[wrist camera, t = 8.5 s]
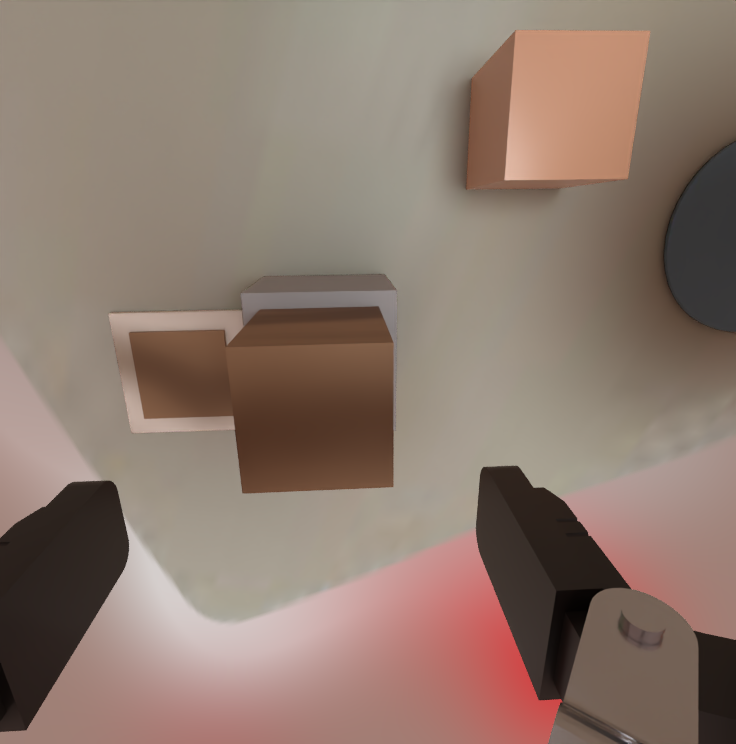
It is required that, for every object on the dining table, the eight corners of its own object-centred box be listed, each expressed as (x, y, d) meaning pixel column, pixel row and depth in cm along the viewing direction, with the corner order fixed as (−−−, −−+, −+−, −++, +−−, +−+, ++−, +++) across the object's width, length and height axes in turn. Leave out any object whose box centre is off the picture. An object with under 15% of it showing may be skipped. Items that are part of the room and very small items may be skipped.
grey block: (264, 276, 25) (240, 293, 19) (384, 274, 25) (396, 290, 19) (273, 389, 27) (254, 435, 21) (384, 386, 27) (395, 430, 21)
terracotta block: (471, 78, 22) (515, 30, 17) (572, 78, 22) (650, 30, 17) (465, 189, 24) (504, 180, 18) (560, 188, 24) (627, 178, 18)
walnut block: (260, 309, 19) (225, 347, 14) (378, 306, 19) (393, 342, 14) (269, 418, 21) (242, 493, 15) (379, 414, 21) (393, 486, 15)
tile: (112, 312, 25) (105, 314, 24) (243, 309, 25) (240, 312, 24) (134, 430, 27) (129, 435, 26) (254, 426, 27) (252, 431, 27)
